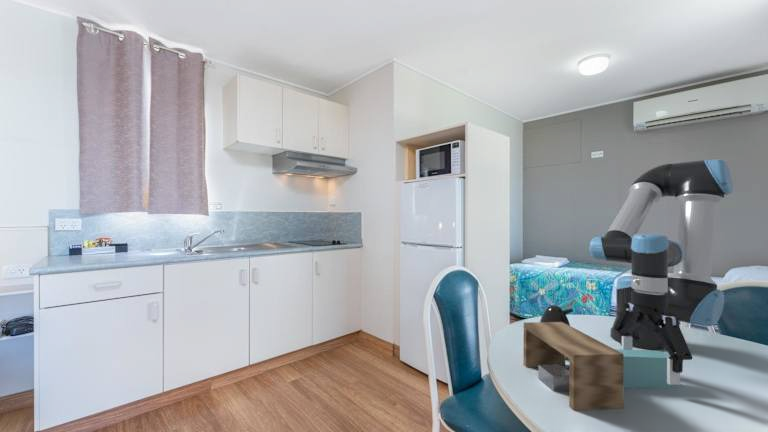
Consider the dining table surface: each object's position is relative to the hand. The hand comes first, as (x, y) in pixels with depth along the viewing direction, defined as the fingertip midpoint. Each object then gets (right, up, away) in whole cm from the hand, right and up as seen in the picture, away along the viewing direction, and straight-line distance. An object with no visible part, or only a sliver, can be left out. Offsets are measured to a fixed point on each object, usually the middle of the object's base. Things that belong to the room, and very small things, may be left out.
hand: (648, 370), depth 84 cm
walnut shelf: (-23, -3, -2) cm, 23 cm away
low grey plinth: (-26, -3, -2) cm, 26 cm away
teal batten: (-7, -3, 0) cm, 8 cm away
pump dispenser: (-15, -3, +18) cm, 24 cm away
